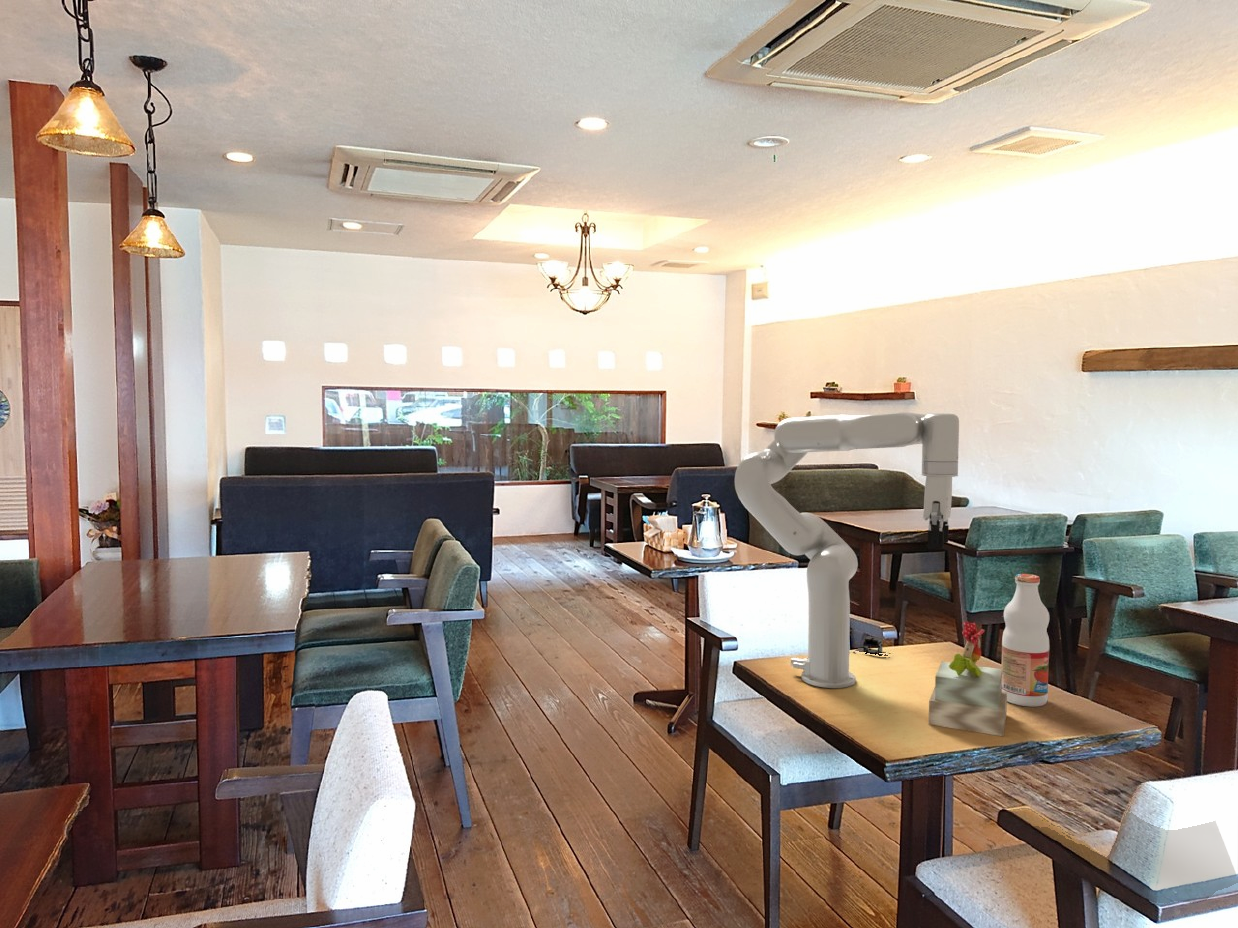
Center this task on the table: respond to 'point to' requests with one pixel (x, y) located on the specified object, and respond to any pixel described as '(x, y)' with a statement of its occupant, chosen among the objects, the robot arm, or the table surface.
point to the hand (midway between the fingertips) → (938, 545)
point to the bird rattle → (969, 651)
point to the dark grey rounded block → (872, 642)
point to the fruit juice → (1025, 645)
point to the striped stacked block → (969, 700)
